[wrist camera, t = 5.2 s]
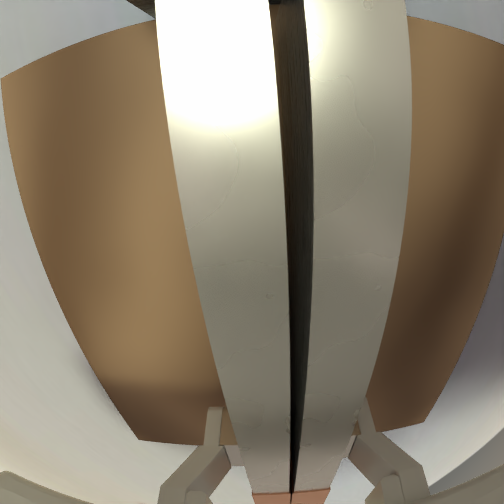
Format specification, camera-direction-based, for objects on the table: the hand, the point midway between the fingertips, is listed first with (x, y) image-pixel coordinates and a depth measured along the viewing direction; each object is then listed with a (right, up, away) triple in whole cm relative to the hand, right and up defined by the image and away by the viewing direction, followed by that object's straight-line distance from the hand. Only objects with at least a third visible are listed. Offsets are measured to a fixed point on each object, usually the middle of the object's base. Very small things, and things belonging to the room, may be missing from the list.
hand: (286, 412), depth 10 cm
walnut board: (0, +4, +1) cm, 4 cm away
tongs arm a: (0, +4, -1) cm, 4 cm away
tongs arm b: (-1, +4, -1) cm, 4 cm away
